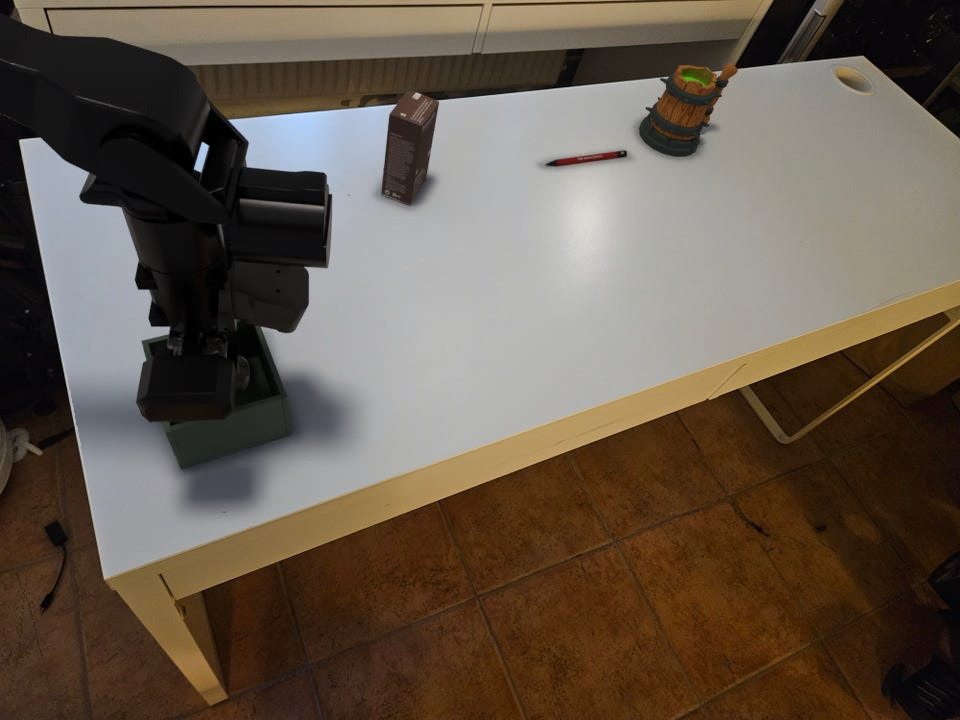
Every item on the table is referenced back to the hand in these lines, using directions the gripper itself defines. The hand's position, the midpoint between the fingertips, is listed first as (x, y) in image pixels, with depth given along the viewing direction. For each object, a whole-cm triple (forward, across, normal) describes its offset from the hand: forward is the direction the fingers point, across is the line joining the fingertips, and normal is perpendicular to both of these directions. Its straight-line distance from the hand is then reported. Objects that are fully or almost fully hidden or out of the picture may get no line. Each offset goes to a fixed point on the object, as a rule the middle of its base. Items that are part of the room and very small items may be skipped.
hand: (213, 372), depth 58 cm
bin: (+6, 0, 0) cm, 6 cm away
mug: (+6, +48, -64) cm, 80 cm away
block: (+1, 0, 0) cm, 1 cm away
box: (+6, +33, -20) cm, 39 cm away
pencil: (+6, +41, -47) cm, 63 cm away
